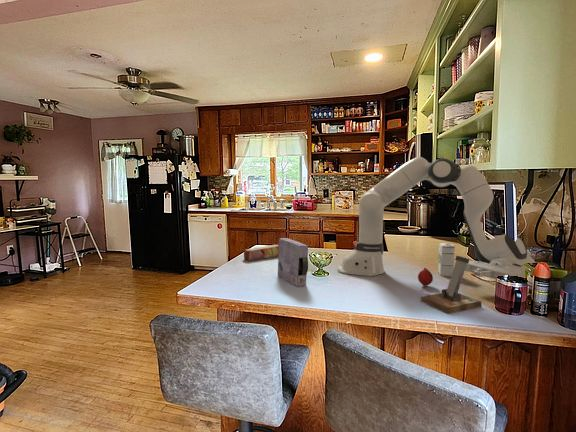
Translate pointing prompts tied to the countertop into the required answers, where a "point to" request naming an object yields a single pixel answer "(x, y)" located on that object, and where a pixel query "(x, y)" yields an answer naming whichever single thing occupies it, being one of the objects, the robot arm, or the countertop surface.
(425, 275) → the onion
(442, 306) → the switch base
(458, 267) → the lever
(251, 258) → the snack package
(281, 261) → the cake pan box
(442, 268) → the white cylindrical container
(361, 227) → the robot arm
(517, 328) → the countertop surface
